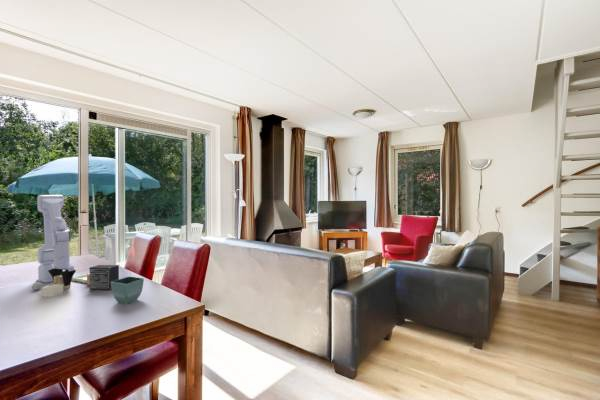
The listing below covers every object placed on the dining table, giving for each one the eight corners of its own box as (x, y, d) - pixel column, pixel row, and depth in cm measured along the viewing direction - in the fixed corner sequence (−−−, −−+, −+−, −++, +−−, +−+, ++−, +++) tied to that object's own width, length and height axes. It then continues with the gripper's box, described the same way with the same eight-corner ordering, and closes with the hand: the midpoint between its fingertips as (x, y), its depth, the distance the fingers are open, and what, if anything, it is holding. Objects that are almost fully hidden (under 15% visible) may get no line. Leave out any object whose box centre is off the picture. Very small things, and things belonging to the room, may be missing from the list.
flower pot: (144, 299, 125) (144, 278, 125) (126, 306, 117) (126, 284, 117) (129, 296, 128) (128, 276, 128) (110, 303, 120) (109, 281, 119)
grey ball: (30, 290, 136) (29, 282, 136) (39, 288, 139) (39, 280, 139) (34, 291, 134) (34, 283, 134) (44, 289, 138) (43, 281, 138)
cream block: (42, 296, 128) (42, 287, 128) (52, 293, 133) (52, 284, 133) (53, 297, 128) (53, 288, 128) (63, 293, 133) (63, 284, 133)
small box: (120, 286, 142) (119, 264, 142) (110, 290, 136) (109, 268, 136) (99, 285, 143) (99, 264, 143) (88, 289, 137) (88, 267, 137)
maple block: (53, 289, 138) (53, 276, 138) (64, 286, 142) (64, 274, 142) (59, 290, 136) (59, 277, 136) (70, 287, 140) (70, 275, 140)
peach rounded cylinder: (85, 284, 145) (84, 274, 145) (94, 282, 149) (94, 272, 149) (90, 285, 143) (90, 275, 143) (99, 283, 147) (99, 273, 147)
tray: (71, 280, 151) (71, 277, 151) (95, 274, 162) (95, 271, 162) (86, 283, 146) (86, 280, 146) (110, 277, 157) (110, 273, 157)
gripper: (42, 256, 138) (43, 285, 138) (61, 258, 132) (62, 288, 133) (59, 253, 144) (60, 281, 145) (78, 255, 139) (79, 284, 139)
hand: (62, 284), depth 139 cm, fingers open, 7 cm apart
